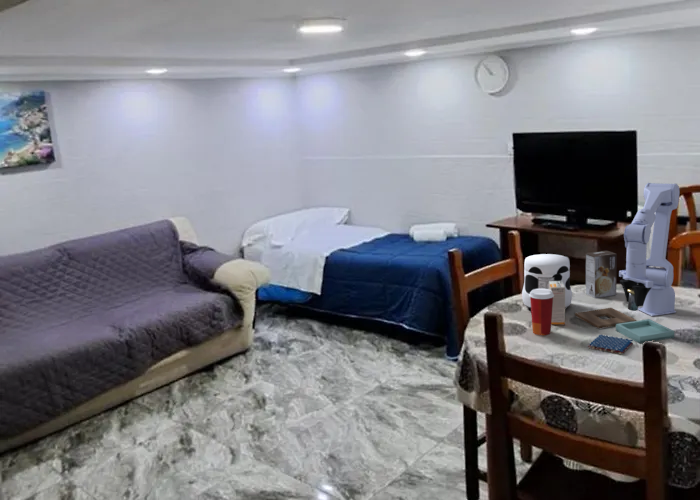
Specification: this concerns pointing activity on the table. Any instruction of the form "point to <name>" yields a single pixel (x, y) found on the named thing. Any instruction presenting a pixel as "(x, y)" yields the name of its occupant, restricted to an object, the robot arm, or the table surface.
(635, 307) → the gunmetal pin
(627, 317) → the walnut socket
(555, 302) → the supplement box
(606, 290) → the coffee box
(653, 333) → the teal tray
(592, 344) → the woven mat
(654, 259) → the robot arm
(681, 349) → the table surface
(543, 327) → the paper cup
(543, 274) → the milk container
